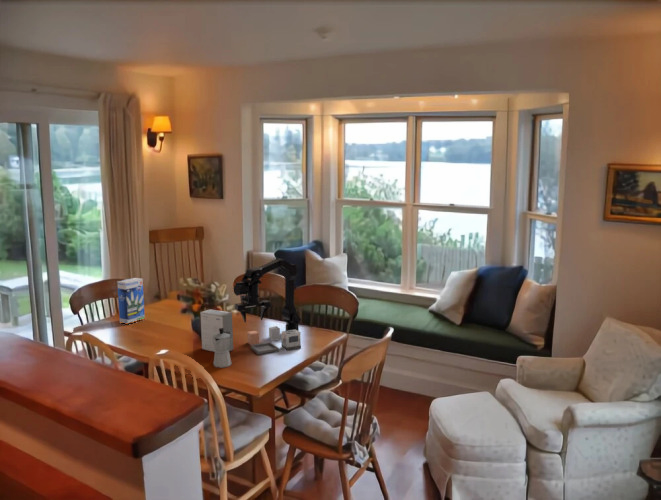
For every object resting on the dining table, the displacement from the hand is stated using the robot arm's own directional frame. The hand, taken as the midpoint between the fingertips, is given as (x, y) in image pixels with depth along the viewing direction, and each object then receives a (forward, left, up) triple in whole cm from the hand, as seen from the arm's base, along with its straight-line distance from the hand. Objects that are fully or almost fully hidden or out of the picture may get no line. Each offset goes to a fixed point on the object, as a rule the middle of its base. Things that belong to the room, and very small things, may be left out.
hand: (253, 321), depth 300 cm
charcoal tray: (-1, +13, -12) cm, 18 cm away
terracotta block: (0, 0, -12) cm, 12 cm away
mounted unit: (-15, +16, -12) cm, 25 cm away
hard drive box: (+20, +1, -12) cm, 24 cm away
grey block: (-13, -2, -12) cm, 18 cm away
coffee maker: (+23, +21, -12) cm, 34 cm away
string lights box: (+51, -71, -12) cm, 89 cm away
